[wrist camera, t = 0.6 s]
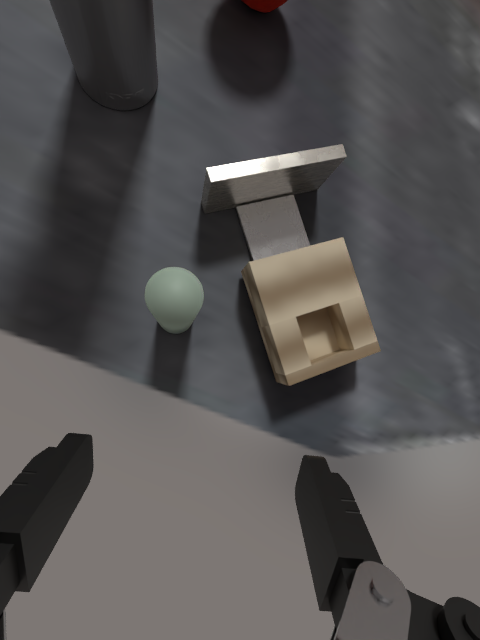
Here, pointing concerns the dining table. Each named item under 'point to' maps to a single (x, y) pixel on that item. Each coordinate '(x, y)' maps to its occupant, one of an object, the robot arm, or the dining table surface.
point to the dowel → (174, 298)
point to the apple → (264, 4)
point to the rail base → (270, 196)
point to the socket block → (309, 310)
